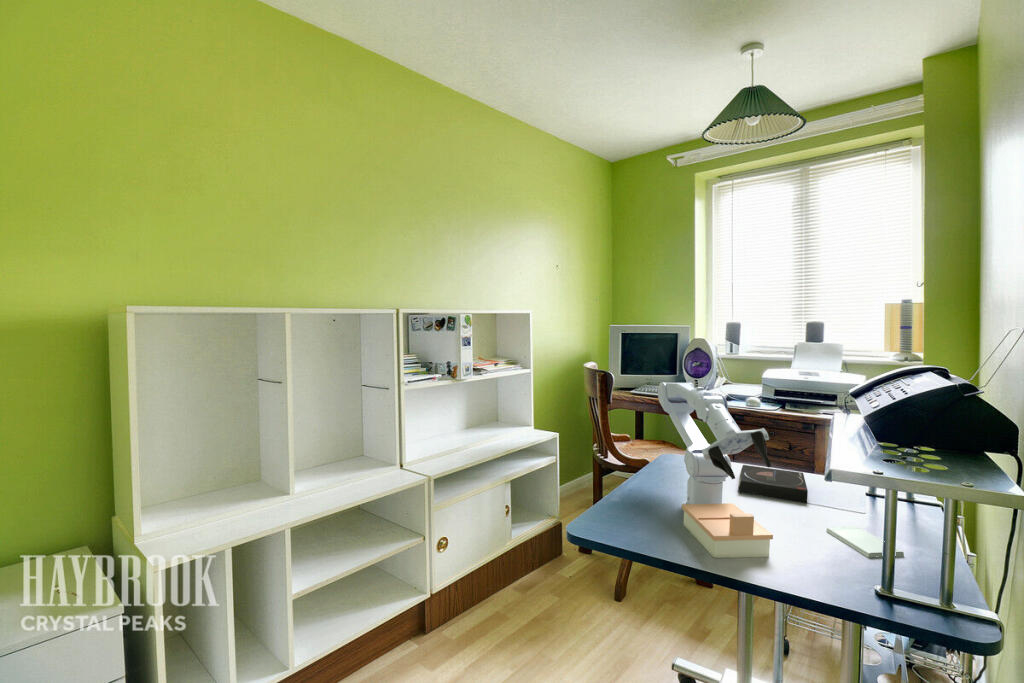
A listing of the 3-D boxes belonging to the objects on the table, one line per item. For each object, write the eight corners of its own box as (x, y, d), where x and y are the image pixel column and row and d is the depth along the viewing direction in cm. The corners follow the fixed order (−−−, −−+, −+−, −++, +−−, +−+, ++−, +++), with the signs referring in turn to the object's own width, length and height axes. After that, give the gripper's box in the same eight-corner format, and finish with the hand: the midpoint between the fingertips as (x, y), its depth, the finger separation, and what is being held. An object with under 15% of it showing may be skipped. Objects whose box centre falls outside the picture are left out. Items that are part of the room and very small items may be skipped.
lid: (681, 508, 120) (682, 488, 120) (732, 507, 121) (733, 487, 121) (713, 540, 104) (714, 517, 103) (772, 539, 105) (773, 516, 104)
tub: (683, 524, 120) (684, 508, 120) (731, 523, 121) (731, 508, 121) (714, 558, 104) (714, 539, 104) (769, 556, 105) (769, 538, 105)
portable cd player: (740, 476, 157) (740, 464, 156) (802, 485, 149) (803, 472, 149) (738, 494, 142) (738, 480, 142) (806, 504, 134) (807, 490, 134)
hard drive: (904, 551, 106) (858, 525, 118) (868, 553, 105) (826, 526, 117) (903, 559, 106) (858, 532, 118) (868, 560, 105) (826, 533, 118)
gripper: (691, 428, 117) (712, 468, 105) (752, 406, 114) (781, 444, 102) (698, 449, 120) (720, 490, 108) (758, 428, 117) (787, 468, 105)
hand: (750, 469), depth 105 cm, fingers open, 7 cm apart
